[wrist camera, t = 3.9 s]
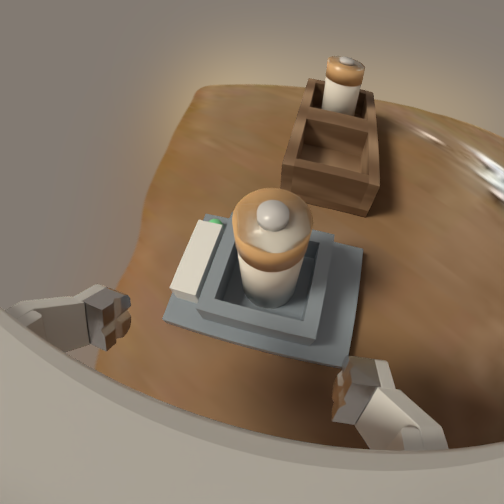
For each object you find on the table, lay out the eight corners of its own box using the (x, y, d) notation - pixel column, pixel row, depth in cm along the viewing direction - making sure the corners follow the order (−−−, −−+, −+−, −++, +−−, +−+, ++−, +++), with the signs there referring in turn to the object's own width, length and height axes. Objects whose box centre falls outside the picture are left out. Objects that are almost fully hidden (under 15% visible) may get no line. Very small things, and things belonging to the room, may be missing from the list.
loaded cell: (340, 111, 33) (351, 52, 25) (357, 129, 31) (373, 67, 23) (313, 115, 32) (321, 52, 25) (329, 134, 30) (341, 67, 23)
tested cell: (283, 253, 23) (294, 174, 15) (304, 298, 21) (328, 233, 13) (235, 269, 23) (221, 194, 15) (252, 316, 21) (247, 260, 13)
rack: (305, 105, 35) (308, 78, 31) (366, 119, 34) (373, 92, 30) (279, 197, 27) (282, 163, 23) (365, 217, 26) (380, 186, 22)
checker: (207, 220, 26) (201, 195, 23) (359, 254, 24) (372, 232, 21) (166, 322, 22) (150, 309, 18) (342, 368, 19) (356, 362, 16)
